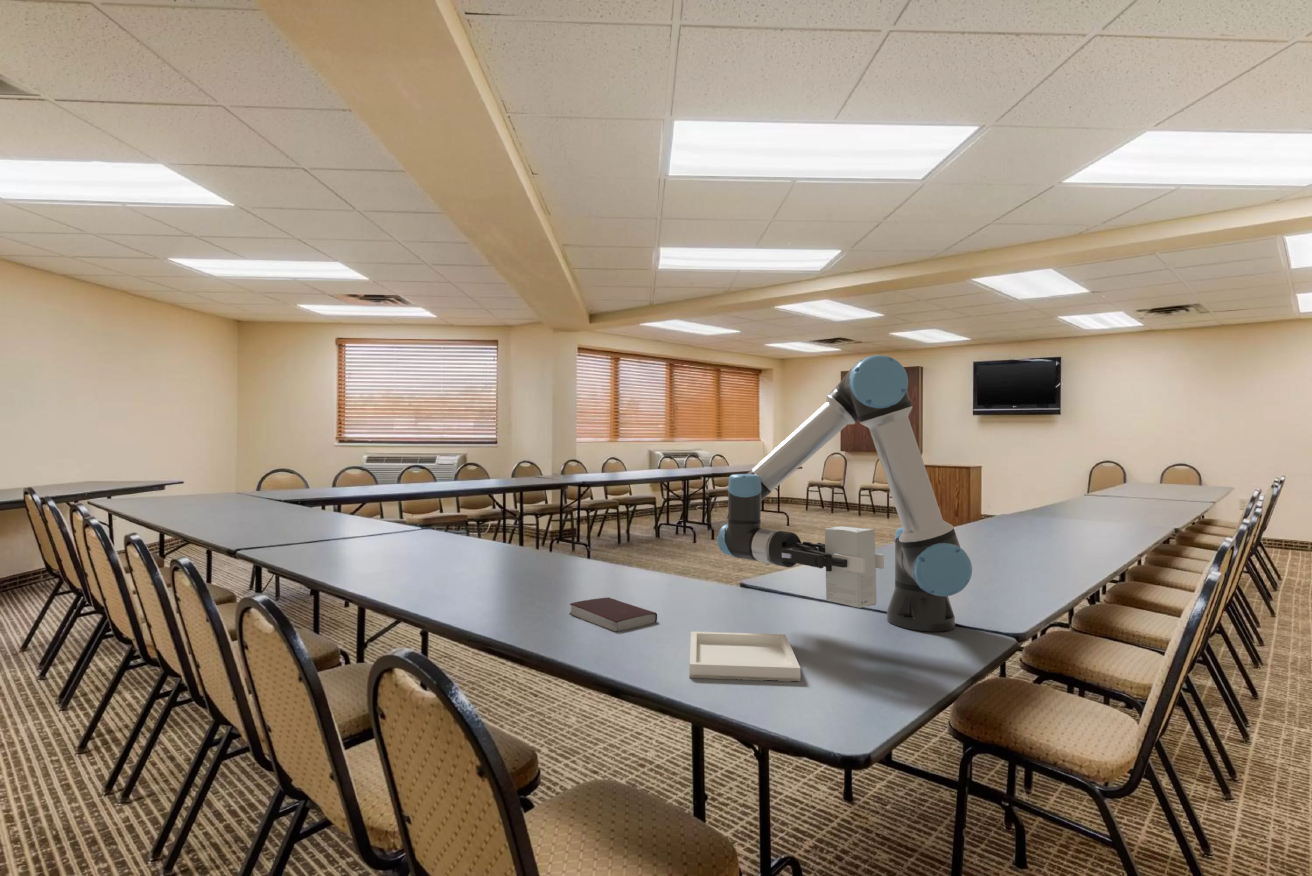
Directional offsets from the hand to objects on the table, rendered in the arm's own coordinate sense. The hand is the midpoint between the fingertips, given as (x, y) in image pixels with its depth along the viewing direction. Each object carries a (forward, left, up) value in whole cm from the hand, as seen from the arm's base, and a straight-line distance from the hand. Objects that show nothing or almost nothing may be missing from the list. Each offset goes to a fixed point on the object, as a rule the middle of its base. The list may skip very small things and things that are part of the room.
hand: (873, 563), depth 122 cm
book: (+54, -29, -21) cm, 65 cm away
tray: (+25, -2, -20) cm, 32 cm away
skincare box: (+4, -4, -9) cm, 10 cm away
